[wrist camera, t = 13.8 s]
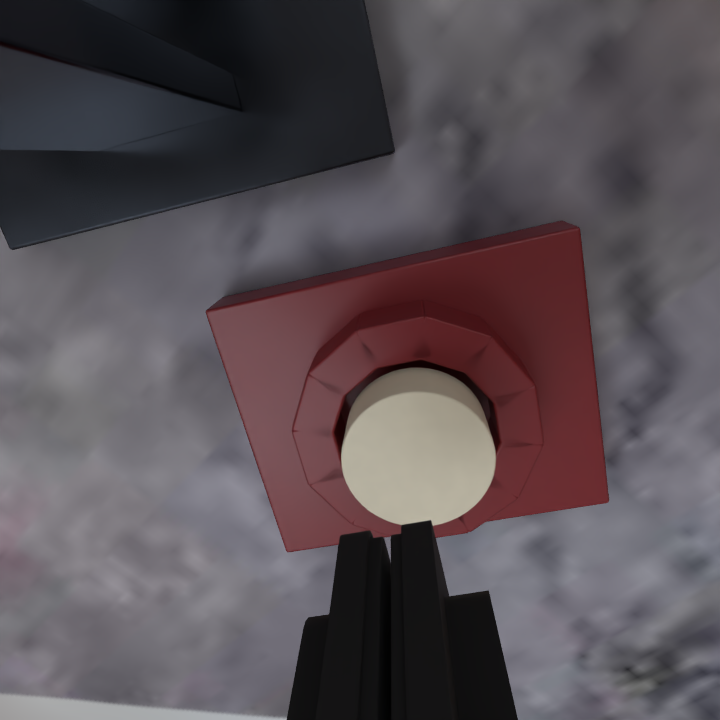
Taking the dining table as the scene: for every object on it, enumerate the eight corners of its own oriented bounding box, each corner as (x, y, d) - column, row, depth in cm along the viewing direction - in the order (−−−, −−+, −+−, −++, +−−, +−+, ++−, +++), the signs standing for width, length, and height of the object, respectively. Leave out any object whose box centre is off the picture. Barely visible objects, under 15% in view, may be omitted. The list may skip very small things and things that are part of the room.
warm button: (364, 500, 17) (360, 537, 15) (331, 382, 16) (323, 407, 14) (496, 479, 16) (507, 515, 15) (473, 353, 15) (482, 378, 14)
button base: (294, 523, 21) (275, 591, 18) (220, 297, 18) (181, 328, 15) (593, 475, 20) (632, 539, 16) (563, 219, 17) (603, 235, 14)
